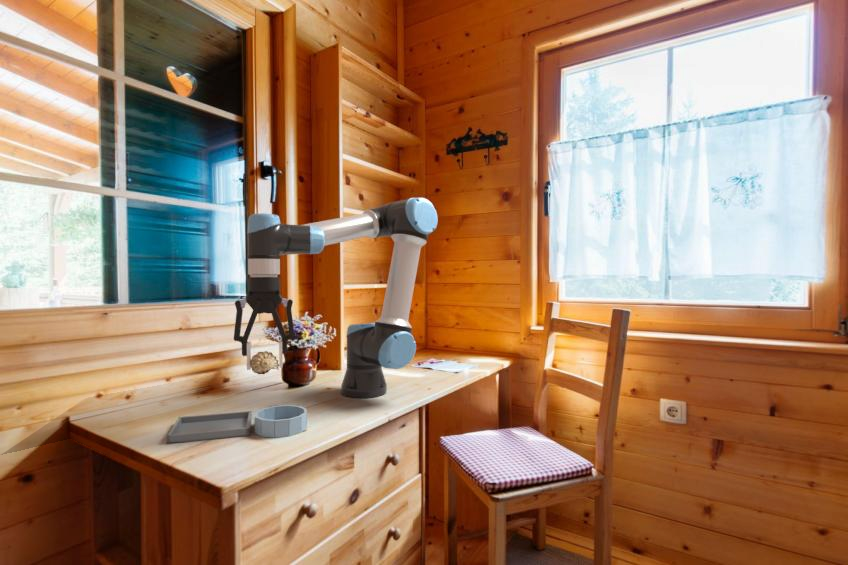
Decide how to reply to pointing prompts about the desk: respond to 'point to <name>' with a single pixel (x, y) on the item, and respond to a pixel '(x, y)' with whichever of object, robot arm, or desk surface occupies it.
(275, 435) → the bowl
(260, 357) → the seashell
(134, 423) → the desk surface
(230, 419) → the tray
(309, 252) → the robot arm
